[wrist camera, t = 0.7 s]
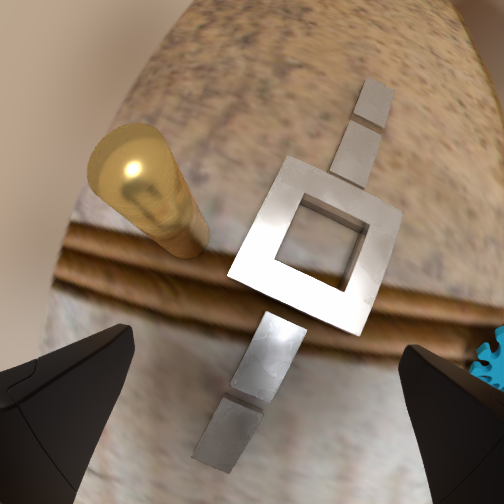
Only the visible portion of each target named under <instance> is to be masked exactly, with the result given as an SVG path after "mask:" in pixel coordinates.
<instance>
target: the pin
mask: <svg viewBox="0 0 504 504" xmlns="http://www.w3.org/2000/svg"><path fill="white" fill-rule="evenodd" d="M87 178H88V183H89V186H90V187H91V189H92V191H93V192H94V193H95V194H96V195H97V196H98V197H100V198H101V199H102V200H103V201H104V202H106V203H107V204H108V205H109V206H111V207H112V208H113V209H114V210H116V211H117V212H118V213H119V214H121V215H122V216H123V217H124V218H126V219H127V220H128V221H129V222H131V223H132V224H133V225H135V226H136V227H137V228H138V229H140V230H141V231H142V232H144V233H145V234H146V235H147V236H149V237H150V238H151V239H153V240H154V241H155V242H157V243H158V244H159V245H161V246H162V247H163V248H164V249H166V250H167V251H168V252H170V253H171V254H172V255H174V256H175V257H177V258H180V259H192V258H195V257H197V256H199V255H200V254H201V253H202V252H203V251H204V250H205V249H206V247H207V245H208V243H209V238H210V233H209V228H208V226H207V224H206V222H205V220H204V218H203V216H202V214H201V212H200V210H199V208H198V206H197V204H196V202H195V200H194V198H193V196H192V194H191V192H190V190H189V188H188V186H187V184H186V182H185V180H184V178H183V175H182V173H181V171H180V169H179V167H178V165H177V163H176V161H175V159H174V157H173V155H172V153H171V151H170V149H169V146H168V144H167V142H166V140H165V138H164V136H163V135H162V133H161V132H160V131H159V130H158V129H156V128H155V127H153V126H151V125H148V124H143V123H133V124H128V125H124V126H121V127H119V128H117V129H115V130H113V131H112V132H110V133H109V134H108V135H106V136H105V137H104V138H103V139H102V140H101V141H100V142H99V143H98V145H97V146H96V147H95V149H94V151H93V152H92V154H91V157H90V160H89V162H88V167H87Z"/></svg>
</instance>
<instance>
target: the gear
mask: <svg viewBox="0 0 504 504" xmlns="http://www.w3.org/2000/svg"><path fill="white" fill-rule="evenodd" d="M495 336H496V339H497V342H499V348H498V350H497V351H496V352H494V353H491V350H490V346H489V344H488V343H487V342H485V343H483V344H482V345H481V346H480V347H479V348H478V349H477V355H478V358H479V359H480V360H486V361H488V362H490V364H489V365H487V366H482V365H481V363H480V362H478V361H476V362H473V363H472V365H471V367H470V369H469V373H470V374H472V375H474V376H476V377H477V378H479V379H481V380H483V381H485V382H486V383H488V384H490V385H491V386H494V387H495V388H497V389H499V390H500V389H501V388H502V389H501V391H503V392H504V326H501V327H499V328H497V329H496V330H495ZM483 375H484V376H488V377H480V376H483ZM478 376H479V377H478Z"/></svg>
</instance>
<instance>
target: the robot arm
mask: <svg viewBox="0 0 504 504" xmlns="http://www.w3.org/2000/svg"><path fill="white" fill-rule="evenodd" d="M134 352H135V344H134V338H133V331H132V327H131V326H130V325H125V324H117V325H115V326H112V327H110V328H108V329H105V330H103V331H101V332H98V333H96V334H94V335H91V336H89V337H87V338H84V339H82V340H79V341H77V342H75V343H72V344H70V345H68V346H65V347H63V348H60V349H58V350H56V351H53V352H51V353H48V354H46V355H44V356H41V357H39V358H38V359H34V360H31V361H29V362H27V363H24V364H22V365H19V366H16V367H13V368H11V369H7V370H4V371H2V372H0V504H73V502H74V499H75V497H76V494H77V493H76V492H77V491H78V489H79V486H80V484H81V481H82V479H83V476H84V474H85V471H86V469H87V467H88V464H89V462H90V459H91V457H92V455H93V452H94V450H95V448H96V445H97V443H98V441H99V438H100V436H101V434H102V432H103V429H104V427H105V425H106V423H107V420H108V418H109V416H110V414H111V412H112V410H113V407H114V405H115V403H116V401H117V399H118V397H119V395H120V392H121V390H122V387H123V385H124V382H125V379H126V376H127V373H128V370H129V367H130V364H131V361H132V358H133V355H134ZM398 371H399V376H400V380H401V385H402V389H403V394H404V398H405V403H406V407H407V410H408V414H409V417H410V420H411V423H412V426H413V429H414V433H415V436H416V439H417V443H418V446H419V450H420V453H421V457H422V461H423V464H424V468H425V472H426V476H427V480H428V484H429V488H430V493H431V497H432V502H433V504H504V392H503V391H501V390H499V389H497V388H495V387H494V386H491V385H490V384H488V383H486V382H485V381H483V380H481V379H479V378H477V377H476V376H474V375H472V374H470V373H468V372H467V371H465V370H463V369H461V368H459V367H458V366H456V365H454V364H452V363H450V362H449V361H447V360H445V359H443V358H441V357H440V356H438V355H436V354H434V353H432V352H431V351H429V350H427V349H425V348H423V347H422V346H420V345H417V344H414V345H407V346H406V347H405V349H404V352H403V355H402V357H401V360H400V362H399V366H398Z"/></svg>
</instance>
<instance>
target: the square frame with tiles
mask: <svg viewBox="0 0 504 504" xmlns="http://www.w3.org/2000/svg"><path fill="white" fill-rule="evenodd" d="M394 92H395V90H393V89H391V88H389V87H387V86H385V85H383V84H381V83H379V82H377V81H375V80H373V79H371V78H369V77H367V78H366V80H365V83H364V85H363V88H362V90H361V93H360V95H359V98H358V101H357V103H356V106H355V108H354V111H353V113H352V116H351V118H350V122H349V124H348V126H347V128H346V131H345V133H344V136H343V138H342V141H341V143H340V145H339V148H338V150H337V153H336V155H335V157H334V160H333V162H332V165H331V167H330V169H329V172H328V173H326V172H324V171H322V170H320V169H318V168H315V167H313V166H311V165H309V164H307V163H304V162H302V161H300V160H298V159H295V158H293V157H291V156H287V158H286V160H285V162H284V164H283V165H282V167H281V169H280V171H279V173H278V175H277V177H276V179H275V181H274V183H273V185H272V187H271V189H270V191H269V193H268V195H267V197H266V199H265V201H264V203H263V205H262V207H261V209H260V211H259V213H258V215H257V217H256V219H255V221H254V223H253V225H252V227H251V229H250V231H249V233H248V235H247V237H246V239H245V241H244V243H243V245H242V247H241V249H240V251H239V253H238V255H237V257H236V259H235V261H234V263H233V265H232V267H231V269H230V271H229V273H228V275H227V276H228V277H229V279H230V280H233V281H235V282H237V283H239V284H241V285H243V286H245V287H247V288H249V289H251V290H253V291H255V292H258V293H260V294H262V295H264V296H266V297H268V298H270V299H272V300H274V301H277V302H279V303H281V304H283V305H285V306H287V307H290V308H292V309H294V310H296V311H298V312H300V313H303V314H305V315H307V316H309V317H311V318H314V319H316V320H318V321H320V322H322V323H325V324H327V325H329V326H331V327H334V328H336V329H338V330H340V331H343V332H345V333H347V334H350V335H355V336H360V334H361V332H362V329H363V327H364V325H365V322H366V320H367V317H368V315H369V313H370V310H371V308H372V305H373V303H374V300H375V297H376V295H377V292H378V290H379V287H380V284H381V281H382V279H383V276H384V273H385V270H386V267H387V265H388V262H389V259H390V256H391V253H392V250H393V247H394V243H395V240H396V237H397V234H398V231H399V227H400V224H401V220H402V217H403V213H404V212H402V211H400V210H398V209H397V208H395V207H393V206H391V205H389V204H387V203H386V202H384V201H382V200H380V199H378V198H376V197H374V196H372V195H371V194H369V193H367V192H365V191H363V190H364V189H365V187H366V184H367V181H368V178H369V175H370V172H371V169H372V166H373V163H374V160H375V157H376V154H377V151H378V147H379V144H380V141H381V138H382V135H380V134H381V132H382V131H383V129H384V128H385V124H386V121H387V117H388V114H389V110H390V107H391V103H392V99H393V96H394ZM299 204H301V205H303V206H305V207H307V208H309V209H311V210H314V211H316V212H318V213H320V214H322V215H324V216H326V217H328V218H330V219H332V220H334V221H336V222H338V223H340V224H342V225H344V226H346V227H348V228H350V229H352V230H354V231H356V232H358V233H360V234H359V236H358V239H357V242H356V244H355V247H354V250H353V252H352V255H351V257H350V260H349V262H348V265H347V267H346V270H345V272H344V275H343V277H342V280H341V282H340V285H339V287H338V289H335V288H333V287H331V286H329V285H327V284H325V283H322V282H320V281H318V280H316V279H314V278H312V277H310V276H308V275H305V274H303V273H301V272H299V271H297V270H295V269H293V268H291V267H288V266H286V265H284V264H282V263H280V262H278V261H276V260H274V258H275V256H276V254H277V251H278V249H279V247H280V245H281V243H282V241H283V239H284V237H285V234H286V232H287V230H288V228H289V226H290V224H291V221H292V219H293V217H294V215H295V213H296V211H297V208H298V206H299ZM306 332H307V330H306V329H304V328H302V327H300V326H297V325H295V324H293V323H291V322H289V321H286V320H284V319H282V318H280V317H278V316H276V315H273V314H271V313H269V312H267V311H265V313H264V315H263V317H262V320H261V322H260V324H259V326H258V328H257V330H256V332H255V334H254V336H253V338H252V340H251V342H250V344H249V346H248V348H247V350H246V352H245V354H244V356H243V358H242V360H241V362H240V364H239V366H238V368H237V370H236V372H235V374H234V376H233V378H232V380H231V382H230V385H229V386H231V387H233V388H235V389H237V390H239V391H242V392H244V393H246V394H248V395H251V396H253V397H255V398H257V399H260V400H262V401H265V402H267V403H269V404H270V403H271V401H272V399H273V397H274V395H275V394H276V392H277V390H278V388H279V386H280V384H281V382H282V380H283V378H284V376H285V374H286V372H287V370H288V368H289V366H290V364H291V362H292V360H293V358H294V356H295V354H296V352H297V350H298V348H299V346H300V344H301V342H302V340H303V338H304V336H305V334H306ZM263 416H264V412H263V410H262V409H260V408H257V407H255V406H253V405H250V404H248V403H246V402H243V401H241V400H239V399H237V398H234V397H232V396H230V395H228V394H226V393H224V395H223V397H222V399H221V401H220V403H219V405H218V407H217V409H216V411H215V413H214V414H213V416H212V418H211V420H210V422H209V424H208V426H207V428H206V429H205V431H204V433H203V435H202V437H201V439H200V441H199V442H198V444H197V446H196V448H195V450H194V452H193V454H192V456H191V458H193V459H195V460H197V461H200V462H202V463H204V464H206V465H209V466H211V467H213V468H216V469H218V470H221V471H223V472H226V473H228V474H229V473H230V472H231V470H232V468H233V467H234V465H235V464H236V462H237V460H238V459H239V457H240V455H241V454H242V452H243V450H244V449H245V447H246V445H247V444H248V442H249V440H250V438H251V437H252V435H253V433H254V432H255V430H256V428H257V426H258V425H259V423H260V421H261V419H262V417H263Z"/></svg>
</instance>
